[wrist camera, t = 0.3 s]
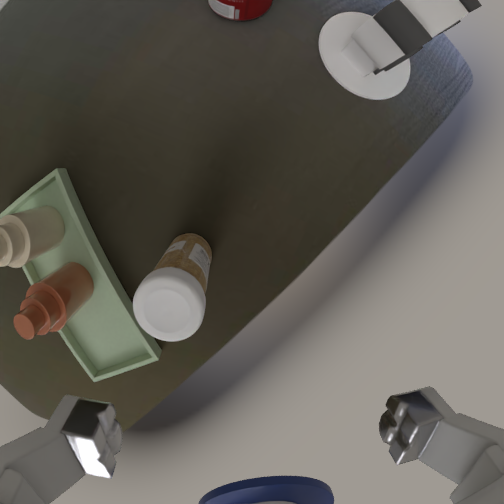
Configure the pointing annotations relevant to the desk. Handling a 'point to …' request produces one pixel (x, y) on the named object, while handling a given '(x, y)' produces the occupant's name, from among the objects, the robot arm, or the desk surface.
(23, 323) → the terracotta bottle
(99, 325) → the tray
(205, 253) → the sprinkles bottle
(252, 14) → the soda can
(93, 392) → the desk surface
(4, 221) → the cream bottle
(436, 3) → the panda figurine
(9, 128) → the desk surface
